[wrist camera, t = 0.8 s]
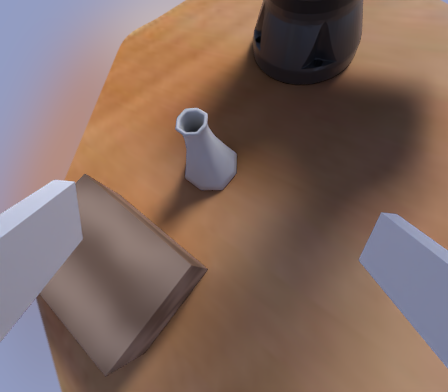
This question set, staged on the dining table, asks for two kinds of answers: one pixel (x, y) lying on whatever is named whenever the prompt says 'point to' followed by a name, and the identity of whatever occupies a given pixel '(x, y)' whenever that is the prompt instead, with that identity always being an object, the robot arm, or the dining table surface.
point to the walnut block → (119, 279)
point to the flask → (205, 152)
